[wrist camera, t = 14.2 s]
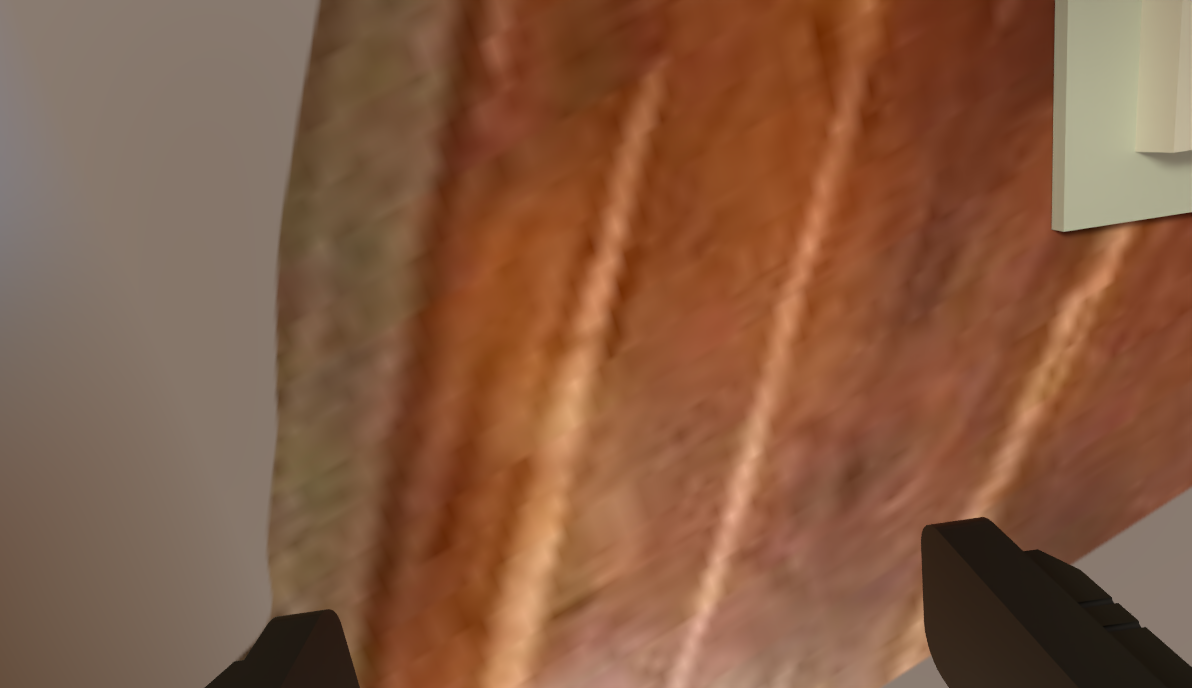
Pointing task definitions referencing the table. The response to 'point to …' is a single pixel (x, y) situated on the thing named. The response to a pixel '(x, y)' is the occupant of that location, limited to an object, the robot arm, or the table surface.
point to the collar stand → (1121, 111)
